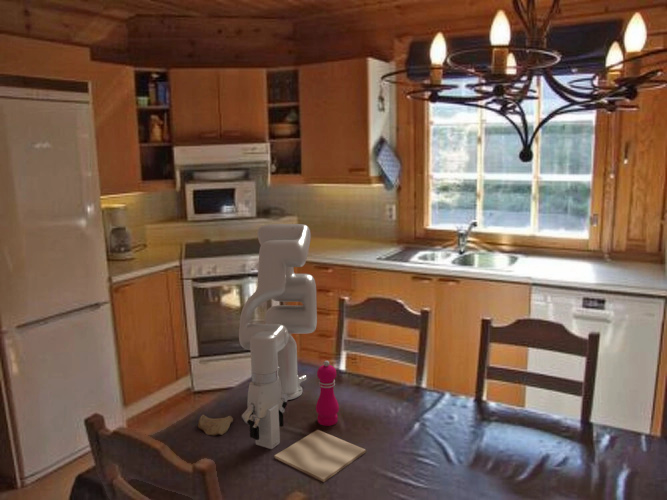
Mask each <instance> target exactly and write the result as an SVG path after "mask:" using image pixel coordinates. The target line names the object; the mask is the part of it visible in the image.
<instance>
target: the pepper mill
mask: <svg viewBox="0 0 667 500" xmlns="http://www.w3.org/2000/svg"><path fill="white" fill-rule="evenodd" d="M316 376H317V379H318V386H319V387H320V391H319V397H318V399H317V401H316V404H315V411H316V413H317V414H318V415H317V424H319V425H321V426H324V427H329V426H334V425H335V424H337V423H338V413H339V411H340V406H339V402H338V400H337V398H336V396H335V393H334V392H335V390H334V387H335V385H336V383H335V382H336V380H335V379H336V378H337V369H336V368H335V366H333V365H332V364H330V361H329V360H324V362H323V365H320V366H319V368H317V371H316Z"/></svg>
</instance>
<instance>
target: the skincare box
mask: <svg viewBox="0 0 667 500" xmlns="http://www.w3.org/2000/svg"><path fill="white" fill-rule="evenodd" d="M255 415H256V414H255ZM255 419H256V417H254V420H253V421H255ZM257 426H258V427H259V440H256V439H254V440H255V445H257V446H260V447H262V448H267V449H269V450H273V449H274V448H275V447H276V446H278V445H279V444H280V442H281V436H280V435H281V434H280V433H281V432H280V426H279V409H278V405H276V406H274V407H272V408H270V409H269V410H268V411H267V416H265V417H263V418H261V419H260V420H259V423H258V425H257Z"/></svg>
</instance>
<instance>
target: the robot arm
mask: <svg viewBox="0 0 667 500" xmlns="http://www.w3.org/2000/svg"><path fill="white" fill-rule="evenodd" d="M256 234H257V239H258V242H259V244H260V247H259V254H258V256H259V257H258V269H257V285H256V289H255V291H254V292H253V293H252V295H250V297H249V298H248V299H247V300H246V302H245V303H244V306H243V307H242V310H241V313H240V316H239V317H240V318H239V329H238V330H239V331H238V340H239V345H240V347H242V348H243V350H249V351H250V370H251V374H250V375H251V381H250V382H249V386H248V390H247V405H246V406H247V408H246V409H245V410H244V412H243V413H242V414H241V419H243V422H244V423H245V424H247V426H249V437H250V438H252V439H254V440H255V439H256V440H259V427H258V426H257V425H258V423H259V420H260V419H261V418H263V417H265V416H267V411H268V410H269V409H270V408H272V407H274V406H276V405H278V409H279V427H281V428H283V427H284V414H285V412H286V407H287V405H288V401H289V400H294V399H297V398H299V397H301V395H302V393H303V387H302V386H301V385H300V384H302V382H305V381H307V380H308V377H307V375H305V374H303V375H301V376H299V375H298V351H297V350H298V347H297V342H296V340H295V338H294V337H293V336H292V334H311V333H313V332H315V331H316V328H317V323H318V318H317V317H318V313H317V311H318V310H317V285H316V280H315V278H314V276H313V275H312V274H309V273H295V271H294V269H295V268H302V267H304V265H305V264H306V262H307V259H308V255H309V249H310V247H311V246H310V244H311V238H312V234H311V229H310V228H309V226H308V225H307V224H302V223H274V224H272V223H270V224H264V225H261V226H260V227H258V229H257V233H256ZM270 300H272V301H275V302H281V303H283V302H284V303H287V302H288V303H291V302H292V303H293V302H295V303H296V302H297V303H301V304H302V305H292V304H288V305H285V304H282V305H281V304H280V305H273V306H271V307H269V308H268V309H267V310H266V312H265V315H264V316H265V317H264V318H265V323H251V320H252V316H253V313H254V312H255V310H256V309H257V308H258V307H259V306H261V305H263V304H264V303H266V302H268V301H270ZM255 414H256V415H255ZM254 417H256V419H255V420H254Z"/></svg>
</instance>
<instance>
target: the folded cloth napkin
mask: <svg viewBox="0 0 667 500" xmlns="http://www.w3.org/2000/svg"><path fill="white" fill-rule="evenodd" d="M366 452H367V450H366V448H363V447H360V446H358V445H356V444H353V443H351V442H348V441H346V440H344V439H341V438H339V437H336V436H334V435H332V434H329V433H326V432H324V431H322V430H320V429H316V430H315V431H313V432H311V433H309V434H308V435H306V436H304V437H303V438H301V439H300V440H297V441H296V442H294V443H293V444H291V445H290V446H288V447H287V448H284V449H282V451H279V452H277V453H276V454H274V459H276V460H278V461H279V462H282V463H284V464H286V465H288V466H290V467H292V468H294V469H296V470H298V471H300V472H302V473H304V474H306V475H308V476H310V477H312V478H315V479H316V480H319V481H321V482H322V483H325V482H326V481H327V480H329V479H330V478H331V477H334V476H335V475H336V474H338V473H339V472H340V471H342V470H343V469H344V468H346V467H347V466H348V465H350V464H351V463H353V462H354V461H355V460H357V459H358V458H360V457H361V456H363V455H364V454H366Z"/></svg>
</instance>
